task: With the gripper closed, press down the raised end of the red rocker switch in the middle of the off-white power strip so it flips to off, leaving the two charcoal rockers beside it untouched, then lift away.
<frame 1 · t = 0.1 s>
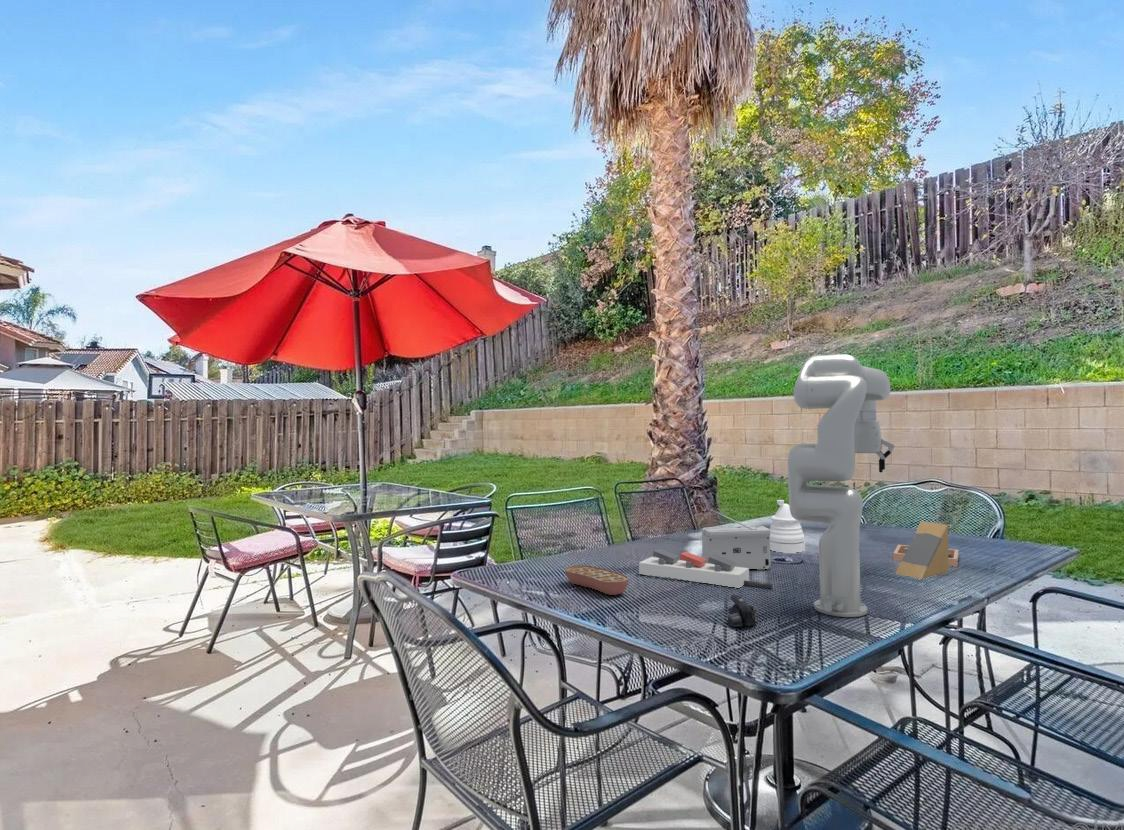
hand: (863, 471, 201), 31 cm above the table, tool pointing down, fingers open, 9 cm apart
honey pot: (786, 550, 233), on the table
tan wooden tray: (926, 559, 214), on the table
rocker far: (665, 556, 202), point 6 cm above the table, hinge at 15.0°
can opener: (740, 619, 160), on the table
brown long rounded block: (597, 590, 188), on the table
stereo radio cassette player: (737, 569, 208), on the table
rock: (926, 560, 214), on the table
power strip: (692, 578, 197), on the table
sandwich container: (921, 574, 197), on the table
rocker red: (692, 559, 197), point 6 cm above the table, hinge at 15.0°
rocker near: (721, 562, 192), point 6 cm above the table, hinge at 15.0°
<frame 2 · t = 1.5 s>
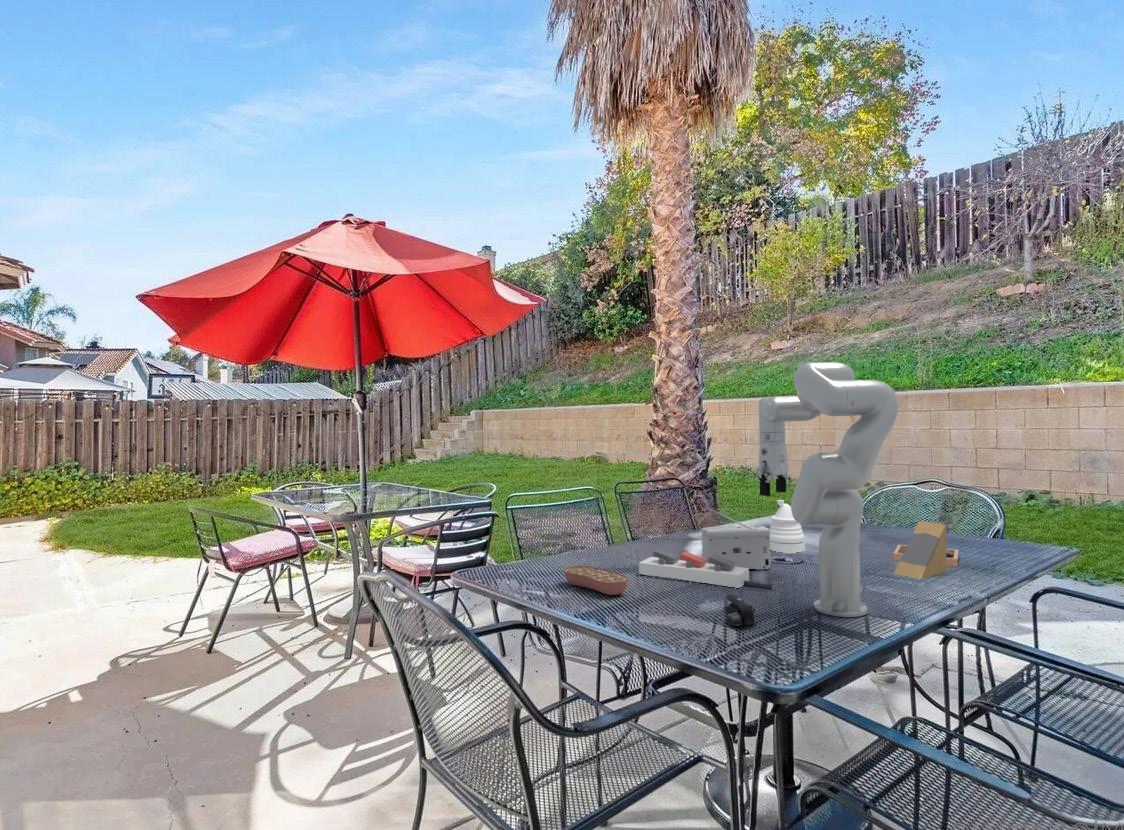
hand: (773, 493, 195), 26 cm above the table, tool pointing down, fingers open, 9 cm apart
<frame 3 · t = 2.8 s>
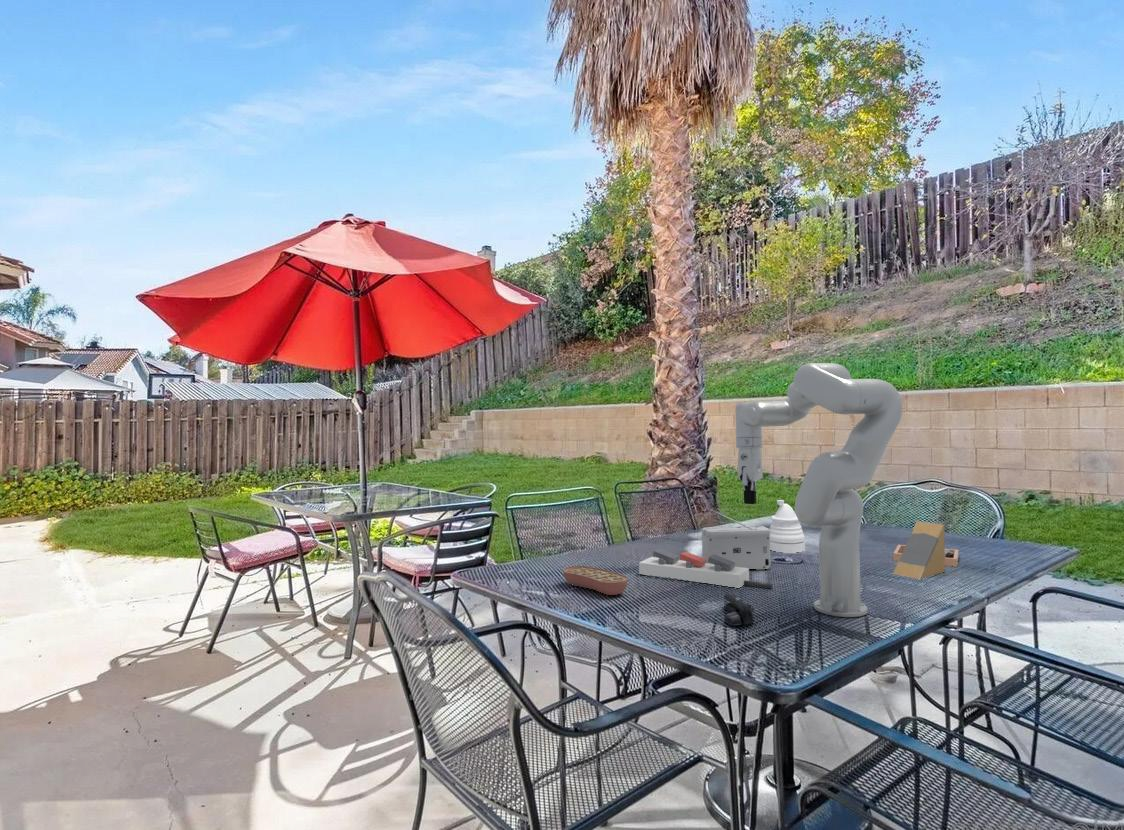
hand: (750, 503, 194), 23 cm above the table, tool pointing down, fingers closed
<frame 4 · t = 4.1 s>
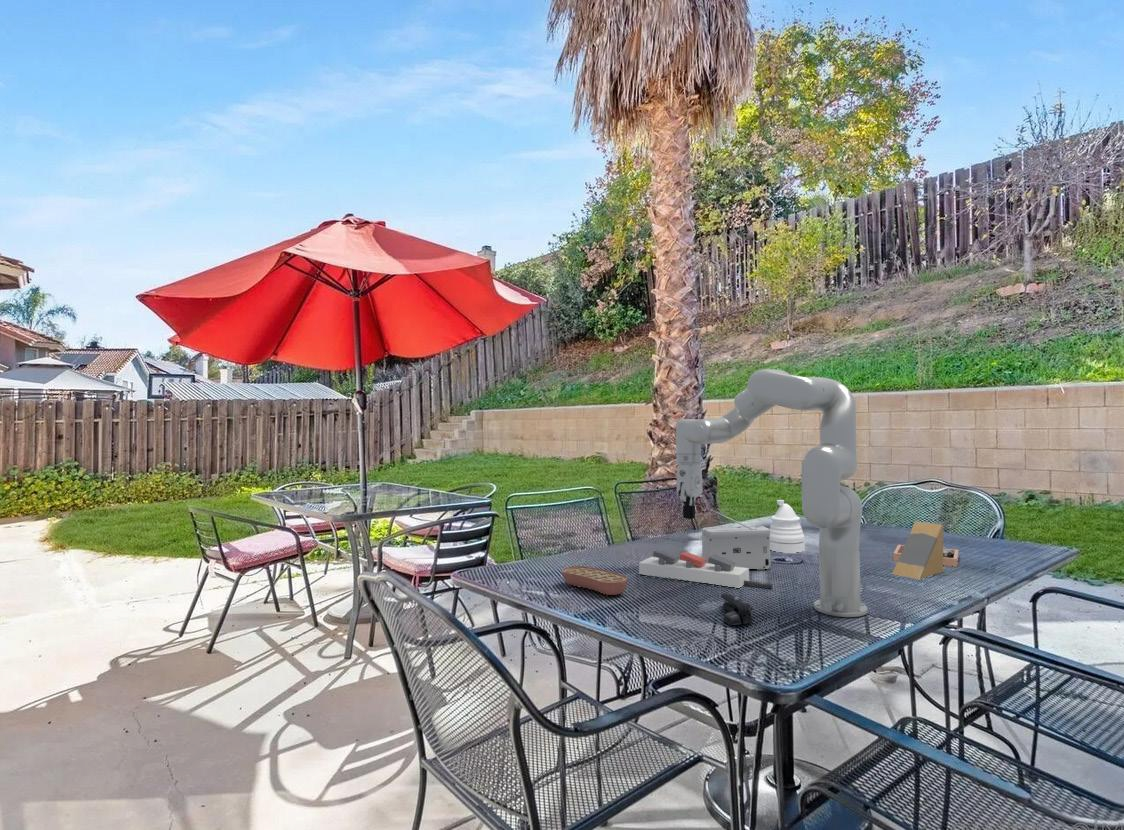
hand: (689, 518, 198), 18 cm above the table, tool pointing down, fingers closed
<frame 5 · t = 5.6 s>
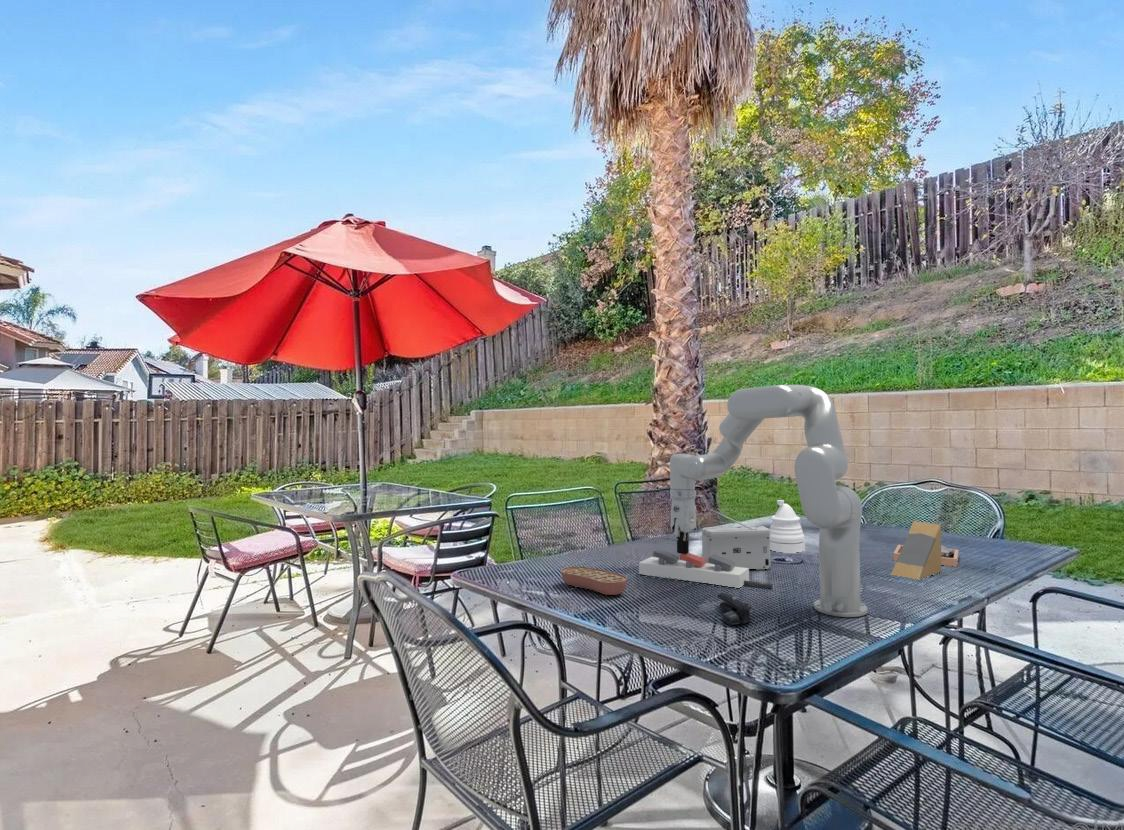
hand: (682, 552, 199), 8 cm above the table, tool pointing down, fingers closed
rocker red: (692, 559, 197), point 6 cm above the table, hinge at 14.4°, touching gripper
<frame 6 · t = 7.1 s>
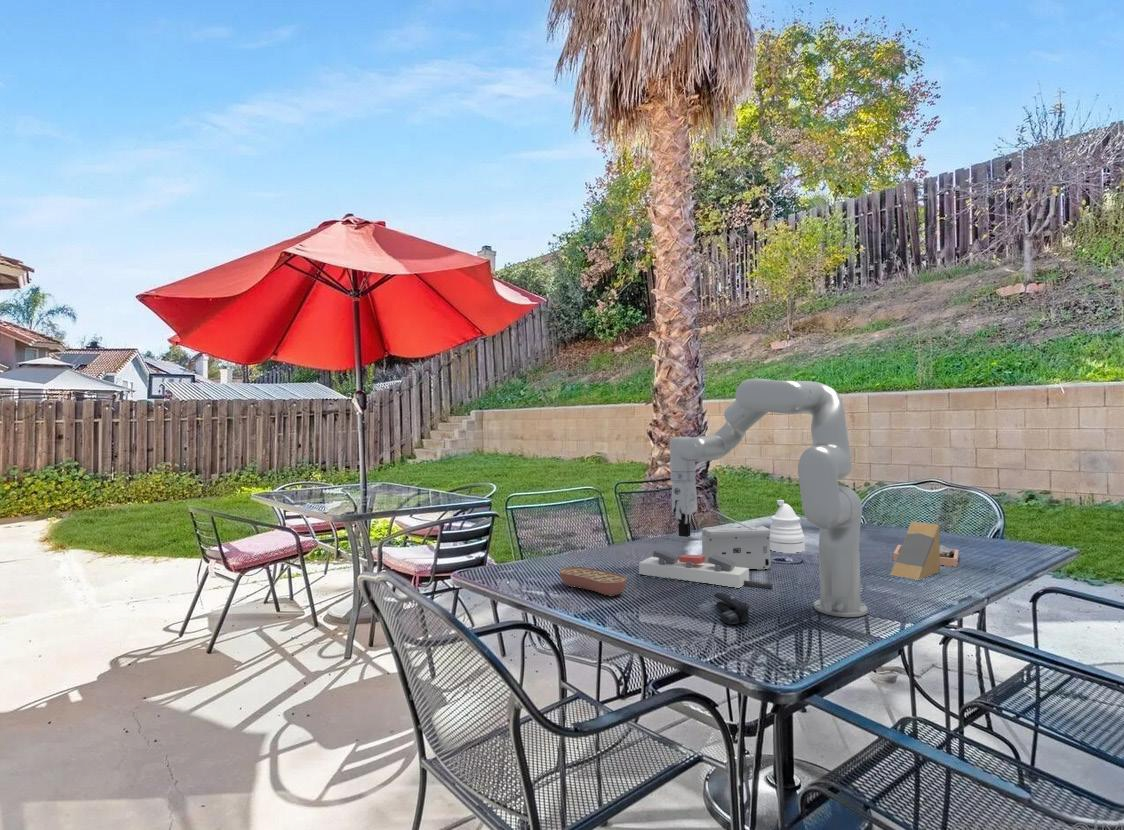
hand: (684, 535, 198), 13 cm above the table, tool pointing down, fingers closed
rocker red: (692, 559, 197), point 6 cm above the table, hinge at -2.9°
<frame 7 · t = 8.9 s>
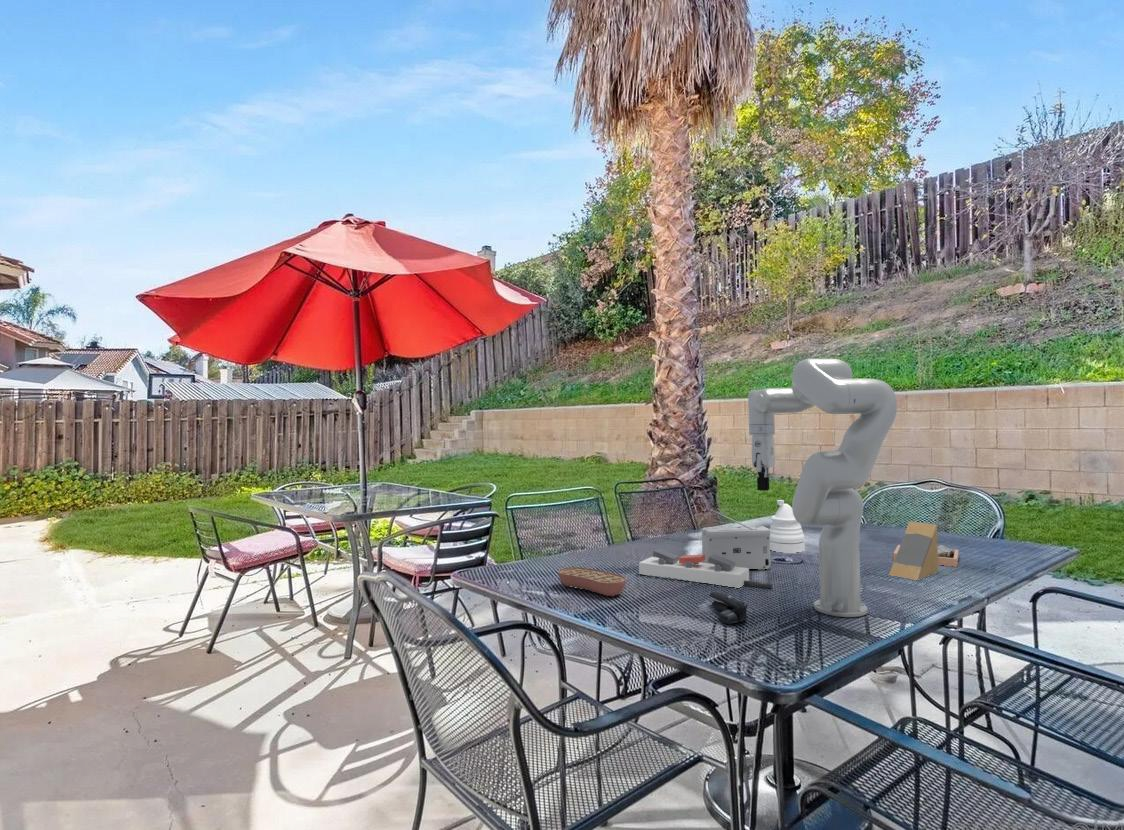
hand: (763, 490, 196), 27 cm above the table, tool pointing down, fingers closed
rocker red: (692, 559, 197), point 6 cm above the table, hinge at -8.8°
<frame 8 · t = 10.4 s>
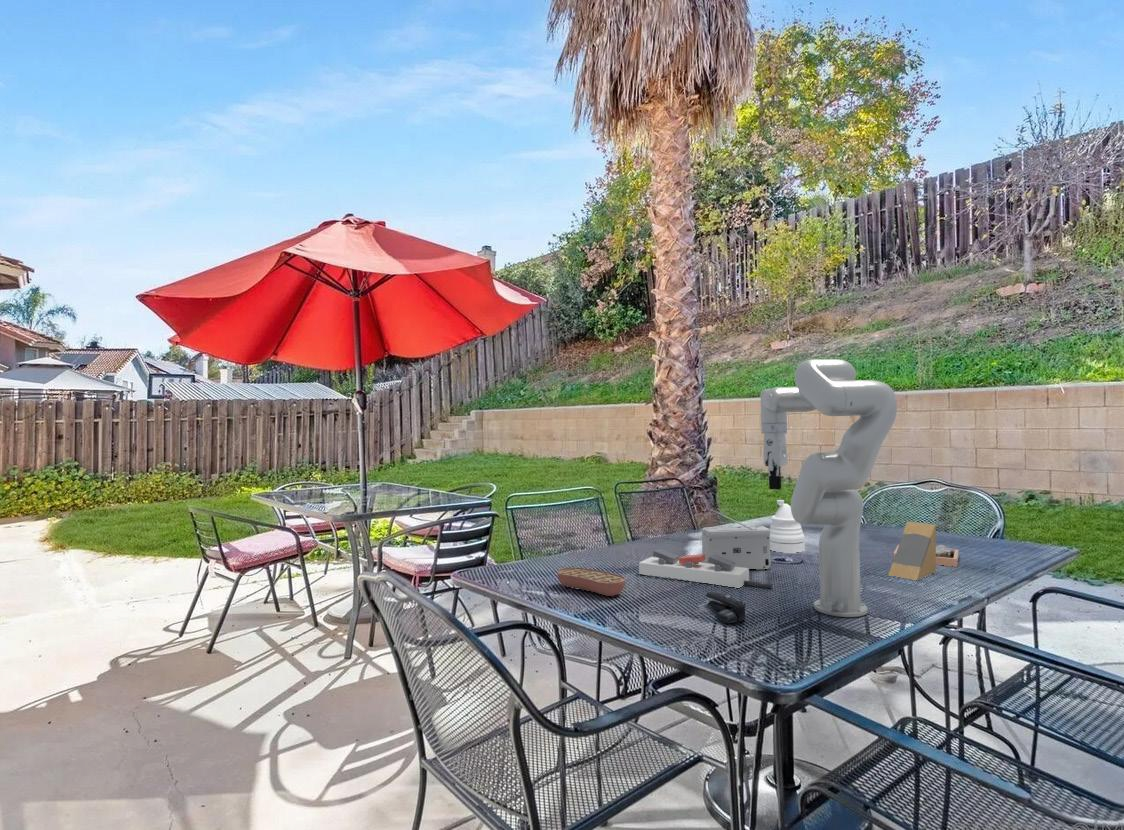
hand: (775, 488, 196), 27 cm above the table, tool pointing down, fingers closed
rocker red: (692, 559, 197), point 6 cm above the table, hinge at -10.4°
at the end: rocker red at -10° (first picture: +15°); rocker near at +15° (first picture: +15°); rocker far at +15° (first picture: +15°) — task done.
